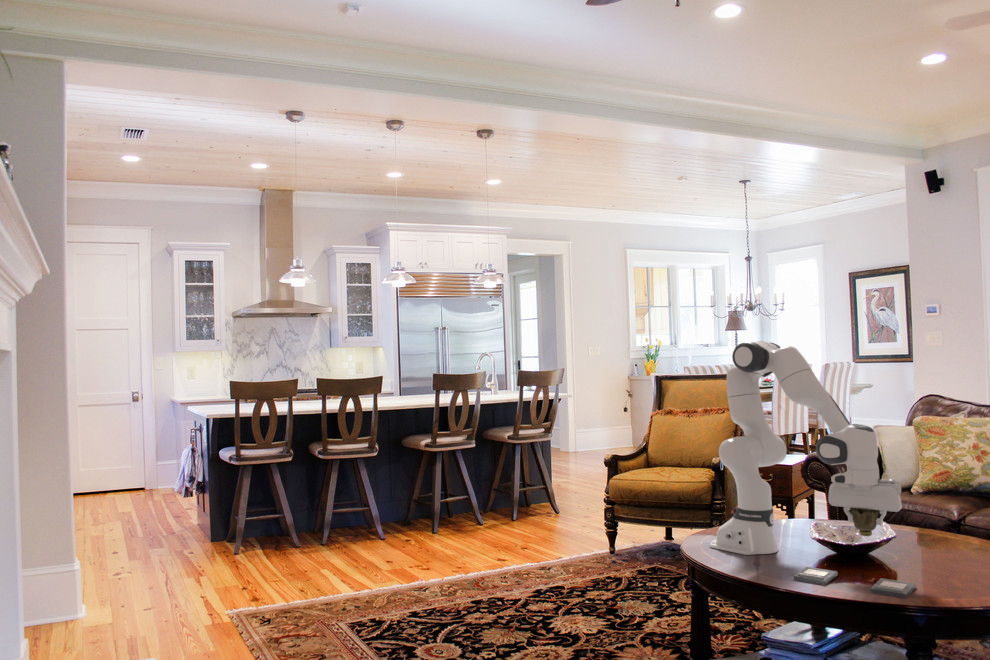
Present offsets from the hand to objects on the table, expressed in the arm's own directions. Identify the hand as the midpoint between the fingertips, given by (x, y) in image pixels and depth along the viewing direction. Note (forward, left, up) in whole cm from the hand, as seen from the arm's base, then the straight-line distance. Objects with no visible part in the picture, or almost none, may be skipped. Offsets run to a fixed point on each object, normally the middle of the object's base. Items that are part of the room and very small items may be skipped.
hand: (865, 523), depth 232 cm
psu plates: (0, -15, -15) cm, 21 cm away
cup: (0, 0, -4) cm, 4 cm away
